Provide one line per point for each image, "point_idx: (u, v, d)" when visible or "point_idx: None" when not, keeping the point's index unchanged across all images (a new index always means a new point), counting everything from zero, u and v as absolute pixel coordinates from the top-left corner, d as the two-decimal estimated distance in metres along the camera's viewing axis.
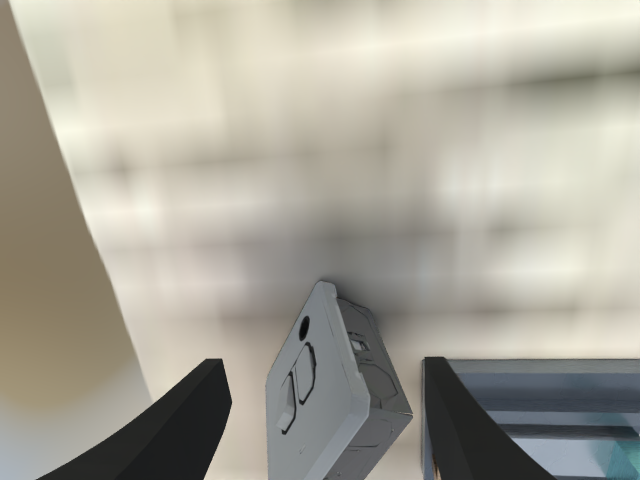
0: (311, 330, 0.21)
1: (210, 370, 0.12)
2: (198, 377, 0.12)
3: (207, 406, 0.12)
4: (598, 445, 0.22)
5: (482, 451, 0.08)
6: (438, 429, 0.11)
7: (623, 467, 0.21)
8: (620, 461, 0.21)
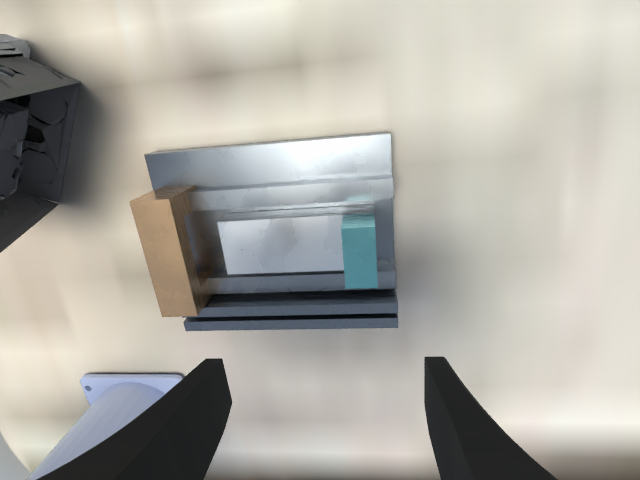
0: None
1: (210, 370, 0.12)
2: (198, 377, 0.12)
3: (207, 406, 0.12)
4: (327, 223, 0.18)
5: (482, 451, 0.08)
6: (438, 429, 0.11)
7: None
8: None
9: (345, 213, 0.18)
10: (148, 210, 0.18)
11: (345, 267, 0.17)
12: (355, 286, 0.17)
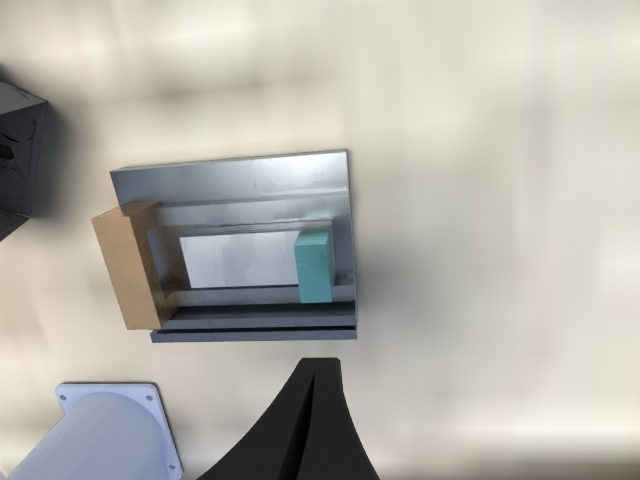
0: None
1: (314, 370, 0.12)
2: (306, 377, 0.11)
3: None
4: (285, 239, 0.19)
5: (322, 447, 0.08)
6: None
7: None
8: None
9: (302, 229, 0.19)
10: (109, 227, 0.18)
11: (299, 282, 0.18)
12: (310, 300, 0.18)
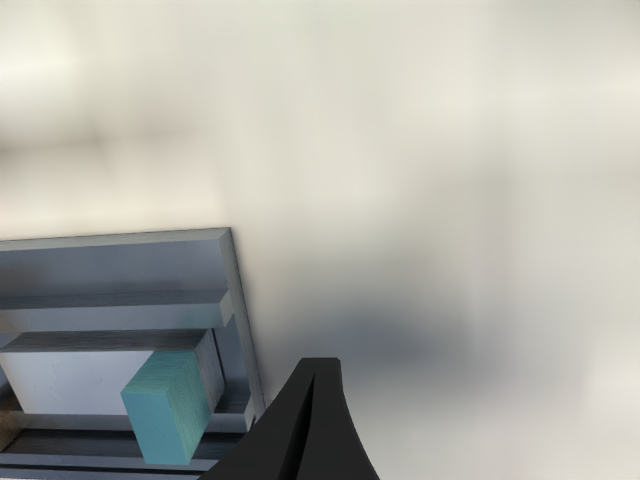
0: None
1: (315, 370, 0.12)
2: (306, 377, 0.11)
3: None
4: (136, 360, 0.13)
5: (322, 447, 0.08)
6: None
7: None
8: None
9: (160, 346, 0.13)
10: None
11: (139, 439, 0.12)
12: (157, 461, 0.12)
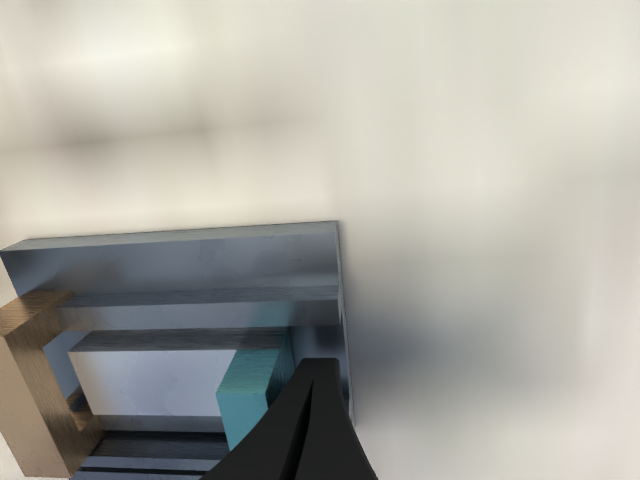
0: None
1: (316, 370, 0.12)
2: (307, 377, 0.11)
3: None
4: (216, 359, 0.13)
5: (320, 447, 0.08)
6: None
7: None
8: None
9: (241, 345, 0.13)
10: None
11: (229, 441, 0.12)
12: None
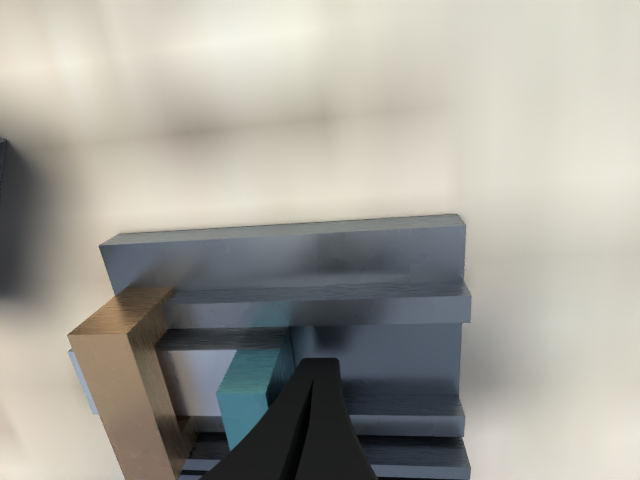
0: None
1: (316, 370, 0.12)
2: (307, 377, 0.11)
3: None
4: (217, 359, 0.13)
5: (320, 447, 0.08)
6: None
7: None
8: None
9: (242, 345, 0.13)
10: (96, 347, 0.12)
11: (230, 441, 0.12)
12: None
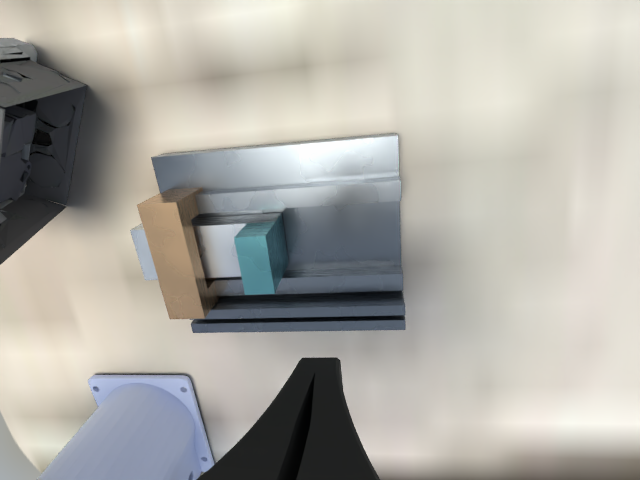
0: None
1: (314, 370, 0.12)
2: (306, 377, 0.11)
3: None
4: (233, 231, 0.19)
5: (322, 447, 0.08)
6: None
7: None
8: None
9: (249, 221, 0.19)
10: (155, 213, 0.18)
11: (242, 274, 0.18)
12: (253, 292, 0.18)
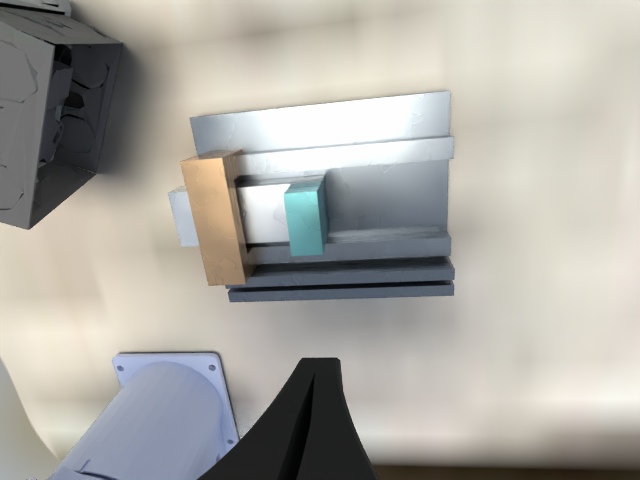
0: None
1: (314, 370, 0.12)
2: (306, 377, 0.11)
3: None
4: (276, 193, 0.18)
5: (322, 447, 0.08)
6: None
7: None
8: None
9: (294, 182, 0.18)
10: (199, 170, 0.17)
11: (290, 234, 0.17)
12: (300, 253, 0.17)
